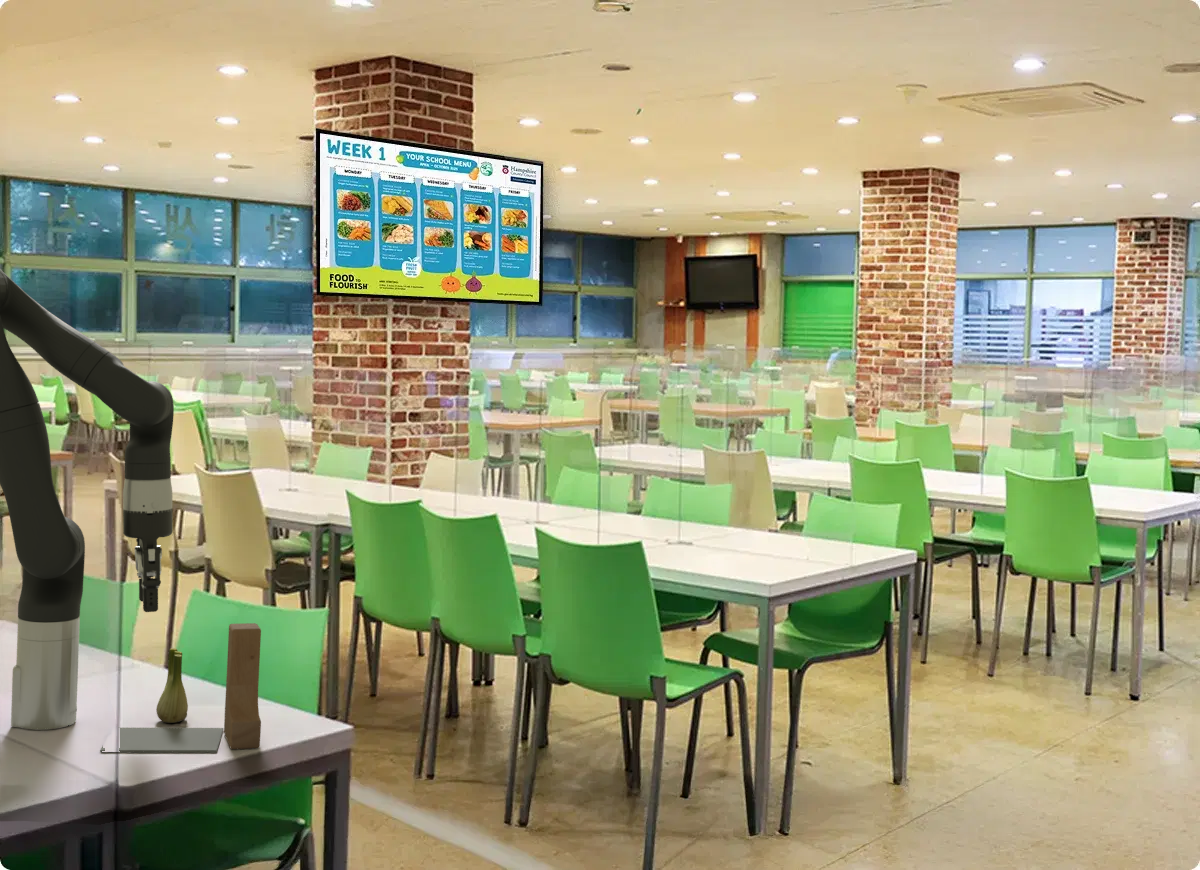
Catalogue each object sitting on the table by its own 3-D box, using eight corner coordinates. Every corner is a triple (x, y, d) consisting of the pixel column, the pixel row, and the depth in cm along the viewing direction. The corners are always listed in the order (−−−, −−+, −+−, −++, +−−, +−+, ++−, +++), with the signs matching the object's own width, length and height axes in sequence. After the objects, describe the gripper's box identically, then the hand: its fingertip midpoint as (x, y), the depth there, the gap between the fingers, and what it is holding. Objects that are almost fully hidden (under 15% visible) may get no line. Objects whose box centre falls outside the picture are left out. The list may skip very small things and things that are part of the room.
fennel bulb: (181, 727, 219) (184, 654, 218) (150, 725, 219) (153, 652, 218) (191, 717, 224) (194, 646, 224) (161, 715, 224) (164, 644, 224)
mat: (100, 752, 203) (100, 750, 203) (113, 729, 215) (113, 727, 215) (216, 752, 206) (216, 750, 206) (223, 730, 218) (223, 727, 218)
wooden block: (260, 748, 209) (265, 634, 208) (230, 750, 208) (235, 635, 207) (252, 732, 218) (257, 622, 217) (223, 733, 216) (228, 623, 215)
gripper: (120, 501, 221) (120, 599, 222) (126, 513, 208) (126, 616, 209) (168, 500, 224) (168, 596, 225) (176, 511, 211) (177, 613, 212)
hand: (148, 606), depth 217 cm, fingers open, 8 cm apart
